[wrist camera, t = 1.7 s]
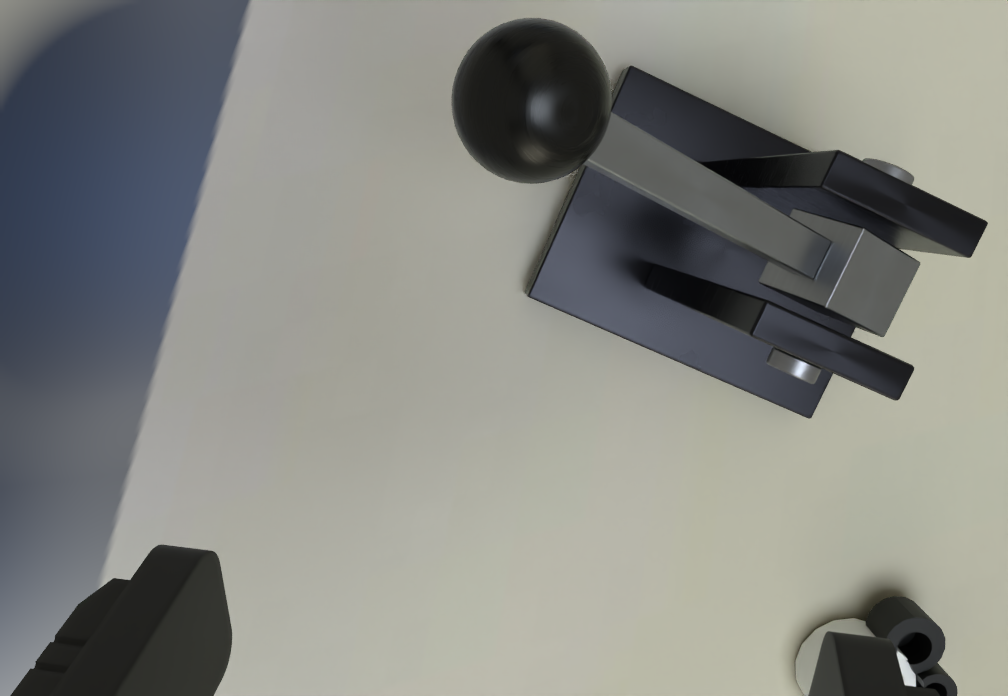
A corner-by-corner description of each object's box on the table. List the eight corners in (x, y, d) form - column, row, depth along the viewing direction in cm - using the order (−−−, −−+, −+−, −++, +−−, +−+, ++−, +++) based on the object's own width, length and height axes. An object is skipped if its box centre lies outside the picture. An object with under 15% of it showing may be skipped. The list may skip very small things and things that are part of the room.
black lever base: (523, 293, 36) (578, 350, 23) (623, 68, 35) (736, 1, 22) (799, 412, 38) (987, 525, 25) (901, 202, 37) (1152, 210, 24)
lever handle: (400, 133, 20) (475, 160, 17) (462, -15, 19) (548, -11, 17) (797, 323, 28) (888, 360, 25) (846, 222, 27) (943, 249, 25)
